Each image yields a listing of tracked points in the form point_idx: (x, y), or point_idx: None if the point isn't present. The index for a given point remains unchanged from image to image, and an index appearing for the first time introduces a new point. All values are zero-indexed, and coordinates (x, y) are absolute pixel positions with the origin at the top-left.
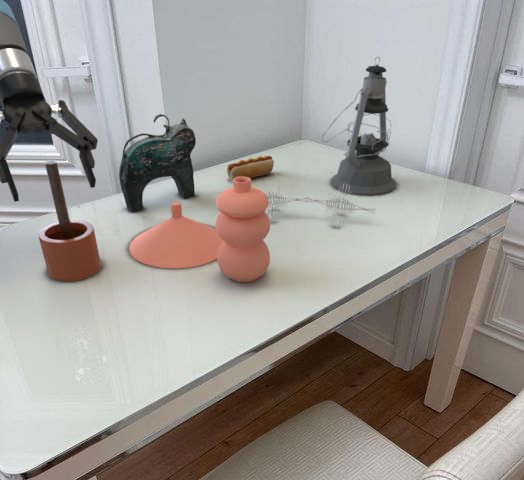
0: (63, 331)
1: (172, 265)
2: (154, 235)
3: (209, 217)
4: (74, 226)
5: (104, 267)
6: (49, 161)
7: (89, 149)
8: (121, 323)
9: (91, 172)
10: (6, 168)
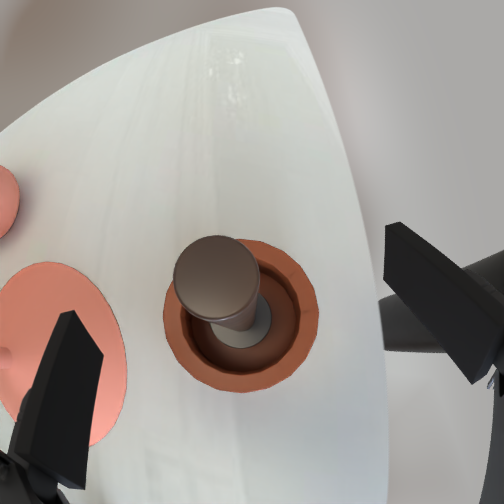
0: (259, 121)
1: (65, 270)
2: None
3: (3, 439)
4: (219, 369)
5: None
6: (224, 306)
7: (9, 456)
8: (178, 123)
9: (54, 336)
10: (474, 290)
